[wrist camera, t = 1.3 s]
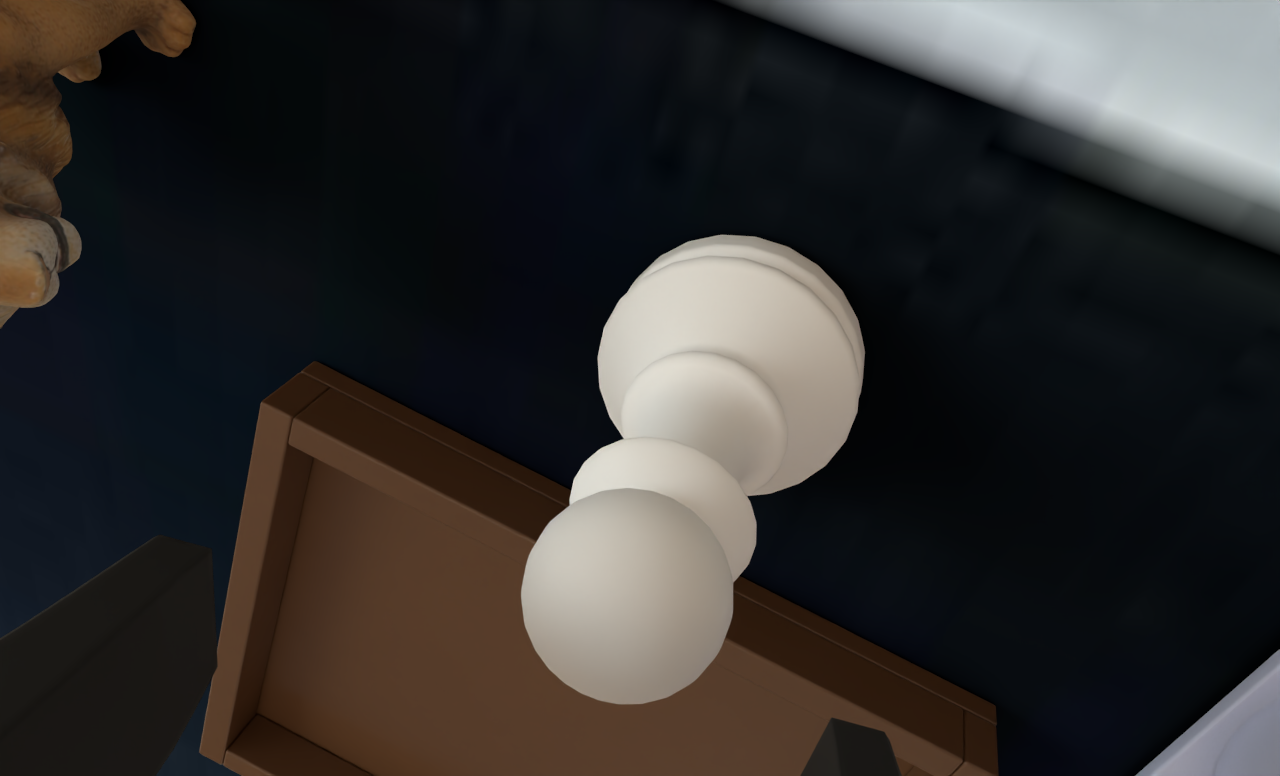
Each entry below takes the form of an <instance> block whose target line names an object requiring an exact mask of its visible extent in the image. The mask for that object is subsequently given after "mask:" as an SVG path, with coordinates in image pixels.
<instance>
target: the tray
mask: <svg viewBox="0 0 1280 776" xmlns="http://www.w3.org/2000/svg"><path fill="white" fill-rule="evenodd" d="M570 494H571V490H569V489H567V488H565V487H563V486H561V485H559V484H557V483H555V482H553V481H551V480H549V479H547V478H546V477H544V476H542V475H540V474H538V473H536V472H534V471H532V470H530V469H528V468H526V467H524V466H522V465H520V464H518V463H516V462H514V461H512V460H510V459H508V458H506V457H504V456H502V455H500V454H498V453H496V452H494V451H492V450H490V449H488V448H486V447H484V446H482V445H480V444H478V443H476V442H474V441H473V440H471V439H469V438H467V437H465V436H463V435H461V434H459V433H457V432H455V431H453V430H451V429H449V428H447V427H445V426H443V425H441V424H439V423H437V422H435V421H433V420H431V419H429V418H427V417H425V416H423V415H421V414H419V413H417V412H415V411H413V410H411V409H409V408H407V407H405V406H403V405H401V404H400V403H398V402H396V401H394V400H392V399H390V398H388V397H386V396H384V395H382V394H380V393H378V392H376V391H374V390H372V389H370V388H368V387H366V386H364V385H362V384H360V383H358V382H356V381H354V380H352V379H350V378H348V377H346V376H344V375H342V374H340V373H338V372H336V371H334V370H332V369H330V368H328V367H327V366H325V365H323V364H321V363H319V362H317V361H314V362H313V363H311V364H310V365H309V366H307V367H306V368H305V369H303V370H302V371H301V373H298V374H297V375H296V376H295V377H293V378H292V379H291V380H289V381H288V382H287V383H285V384H284V385H283V386H281V387H280V388H279V389H277V390H276V391H275V392H273V393H272V394H271V395H269V396H268V397H267V398H266V399H264V400H263V401H262V402H261V405H260V411H259V416H258V422H257V428H256V433H255V439H254V445H253V450H252V456H251V462H250V467H249V473H248V479H247V484H246V490H245V496H244V501H243V507H242V513H241V518H240V524H239V530H238V535H237V541H236V547H235V552H234V558H233V564H232V569H231V575H230V581H229V586H228V592H227V598H226V603H225V609H224V615H223V620H222V626H221V632H220V637H219V643H218V649H217V662H218V667H217V669H216V671H215V673H214V675H213V677H212V683H211V689H210V694H209V700H208V706H207V711H206V717H205V723H204V728H203V734H202V740H201V745H200V751H199V752H200V753H201V754H202V755H204V756H206V757H208V758H210V759H212V760H213V761H215V762H217V763H219V764H223V765H224V766H225V767H227V768H229V769H231V770H233V771H234V772H236V773H238V774H240V775H242V776H801V774H802V772H803V770H804V768H805V766H806V764H807V762H808V760H809V759H810V757H811V755H812V753H813V751H814V749H815V747H816V745H817V744H818V742H819V740H820V738H821V736H822V734H823V732H824V730H825V729H826V727H827V725H828V723H829V721H830V719H831V717H832V718H836V719H840V720H843V721H847V722H851V723H854V724H858V725H862V726H865V727H869V728H873V729H877V730H880V731H884V732H885V734H886V735H887V737H888V739H889V740H890V743H891V746H892V749H893V752H894V755H895V758H896V760H897V763H898V766H899V769H900V772H901V775H902V776H999V775H998V753H997V732H996V727H995V726H996V724H997V720H996V706H995V705H993V704H991V703H989V702H988V701H986V700H984V699H982V698H980V697H978V696H976V695H974V694H972V693H970V692H968V691H966V690H964V689H962V688H960V687H958V686H956V685H954V684H952V683H950V682H948V681H946V680H944V679H942V678H940V677H938V676H936V675H934V674H932V673H930V672H928V671H926V670H924V669H922V668H920V667H918V666H916V665H914V664H913V663H911V662H909V661H907V660H905V659H903V658H901V657H899V656H897V655H895V654H893V653H891V652H889V651H887V650H885V649H883V648H881V647H879V646H877V645H875V644H873V643H871V642H869V641H867V640H865V639H863V638H861V637H859V636H857V635H855V634H853V633H851V632H849V631H847V630H845V629H843V628H841V627H840V626H838V625H836V624H834V623H832V622H830V621H828V620H826V619H824V618H822V617H820V616H818V615H816V614H814V613H812V612H810V611H808V610H806V609H804V608H802V607H800V606H798V605H796V604H794V603H792V602H790V601H788V600H786V599H784V598H782V597H780V596H778V595H776V594H774V593H772V592H770V591H768V590H767V589H765V588H763V587H761V586H759V585H757V584H755V583H753V582H751V581H749V580H747V579H745V578H743V577H741V576H739V577H738V578H737V579H736V580H735V581H734V582H733V614H732V619H731V623H730V626H729V628H728V631H727V634H726V637H725V639H724V642H723V645H722V647H721V649H720V651H719V653H718V654H717V656H716V657H715V659H714V660H713V661H712V662H711V663H710V664H709V666H708V667H707V668H706V669H705V670H704V671H703V673H702V674H701V675H700V676H699V677H698V678H697V679H696V680H695V681H694V682H693V683H691V684H690V685H688V686H686V687H685V688H683V689H681V690H680V691H678V692H676V693H674V694H673V695H671V696H669V697H667V698H664V699H660V700H656V701H652V702H648V703H644V704H614V703H609V702H604V701H599V700H596V699H594V698H591V697H589V696H586V695H584V694H581V693H580V692H578V691H576V690H575V689H573V688H571V687H570V686H568V685H567V684H565V683H564V682H562V681H561V680H560V679H559V678H558V677H557V676H556V675H555V674H554V673H553V672H551V671H550V670H549V669H548V667H547V666H546V664H545V663H544V662H543V660H542V659H541V658H540V656H539V655H538V654H537V652H536V651H535V649H534V646H533V644H532V642H531V639H530V637H529V635H528V632H527V630H526V628H525V624H524V617H523V609H522V601H521V588H522V583H523V578H524V573H525V568H526V563H527V560H528V557H529V554H530V552H531V550H532V548H533V547H534V545H535V543H536V542H537V540H538V539H539V537H540V535H541V534H542V532H543V530H544V529H545V527H546V526H547V525H548V524H549V522H550V521H551V520H552V519H554V518H555V517H556V516H557V515H558V514H560V513H561V512H562V511H563V510H565V509H566V508H567V507H568V506H570V501H569V499H570Z"/></svg>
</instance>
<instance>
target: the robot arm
mask: <svg viewBox="0 0 1280 776" xmlns="http://www.w3.org/2000/svg"><path fill="white" fill-rule="evenodd" d="M217 667H218V662H217V643H216V623H215V604H214V585H213V565H212V549H210V548H207V547H203V546H199V545H196V544H192V543H188V542H185V541H181V540H177V539H173V538H170V537H166V536H162V535H158V536H156V537H155V538H153V539H151V540H149V541H148V542H146V543H145V544H143V545H142V546H140V547H139V548H137V549H136V550H134V551H133V552H131V553H130V554H128V555H127V556H125V557H124V558H122V559H121V560H119V561H118V562H116V563H115V564H113V565H112V566H110V567H109V568H107V569H106V570H104V571H103V572H101V573H100V574H98V575H97V576H95V577H94V578H92V579H91V580H89V581H88V582H86V583H85V584H83V585H82V586H80V587H79V588H77V589H76V590H74V591H73V592H71V593H70V594H68V595H67V596H65V597H64V598H62V599H61V600H59V601H58V602H56V603H55V604H53V605H52V606H50V607H48V608H47V609H45V610H44V611H42V612H41V613H39V614H38V615H36V616H35V617H33V618H32V619H30V620H29V621H27V622H26V623H24V624H22V625H21V626H19V627H18V628H16V629H14V630H13V631H11V632H10V633H8V634H7V635H5V636H3V637H2V638H0V776H156V774H157V773H158V771H159V770H160V768H161V767H162V765H163V764H164V762H165V761H166V760H167V758H168V757H169V755H170V754H171V752H172V751H173V749H174V747H175V745H176V743H177V742H178V740H179V738H180V736H181V734H182V733H183V731H184V729H185V727H186V725H187V724H188V722H189V720H190V718H191V716H192V715H193V713H194V711H195V709H196V707H197V705H198V703H199V701H200V699H201V698H202V696H203V694H204V692H205V690H206V688H207V686H208V684H209V682H210V680H211V678H212V677H213V675H214V673H215V671H216V669H217ZM801 776H902V775H901V772H900V769H899V766H898V763H897V760H896V758H895V755H894V752H893V749H892V746H891V743H890V740H889V739H888V737H887V735H886V734H885V732H884V731H880V730H877V729H873V728H869V727H865V726H862V725H858V724H854V723H851V722H847V721H843V720H840V719H836V718H832V717H831V719H830V721H829V723H828V725H827V727H826V729H825V730H824V732H823V734H822V736H821V738H820V740H819V742H818V744H817V745H816V747H815V749H814V751H813V753H812V755H811V757H810V759H809V760H808V762H807V764H806V766H805V768H804V770H803V772H802V774H801ZM1135 776H1280V649H1279V650H1278V651H1277V652H1276V653H1274V654H1273V655H1272V656H1271V657H1270V658H1269V659H1268V660H1266V661H1265V662H1264V663H1263V664H1262V665H1261V666H1260V667H1258V668H1257V669H1256V670H1255V671H1254V672H1253V673H1252V674H1250V675H1249V676H1248V677H1247V678H1246V679H1245V680H1244V681H1243V682H1241V683H1240V684H1239V685H1238V686H1237V687H1236V688H1235V689H1233V690H1232V691H1231V692H1230V693H1229V694H1228V695H1227V696H1225V697H1224V698H1223V699H1222V700H1221V701H1220V702H1219V703H1217V704H1216V705H1215V706H1214V707H1213V708H1212V709H1211V710H1209V711H1208V712H1207V713H1206V714H1205V715H1204V716H1203V717H1201V718H1200V719H1199V720H1198V721H1197V722H1196V723H1195V724H1193V725H1192V726H1191V727H1190V728H1189V729H1188V730H1187V731H1186V732H1184V733H1183V734H1182V735H1181V736H1180V737H1179V738H1178V739H1176V740H1175V741H1174V742H1173V743H1172V744H1171V745H1170V746H1168V747H1167V748H1166V749H1165V750H1164V751H1163V752H1162V753H1160V754H1159V755H1158V756H1157V757H1156V758H1155V759H1154V760H1152V761H1151V762H1150V763H1149V764H1148V765H1147V766H1146V767H1144V768H1143V769H1142V770H1141V771H1140V772H1139V773H1138V774H1136V775H1135Z"/></svg>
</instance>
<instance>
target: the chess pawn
mask: <svg viewBox="0 0 1280 776" xmlns="http://www.w3.org/2000/svg"><path fill="white" fill-rule="evenodd" d="M864 358H865V349H864V344H863V340H862V335H861V331H860V326H859V321H858V319H857V317H856V315H855V313H854V311H853V309H852V308H851V306H850V304H849V302H848V300H847V298H846V296H845V295H844V293H843V291H842V290H841V289H840V288H839V286H838V285H837V284H836V283H835V282H834V281H833V280H832V279H831V278H830V277H829V276H828V275H827V274H826V273H825V272H824V271H823V270H822V269H821V268H820V267H819V266H818V265H817V264H815V263H814V262H812V261H810V260H809V259H807V258H806V257H804V256H802V255H801V254H799V253H798V252H796V251H794V250H793V249H791V248H789V247H787V246H784V245H781V244H777V243H774V242H771V241H768V240H765V239H762V238H758V237H754V236H736V235H717V236H712V237H707V238H703V239H698V240H693V241H688V242H686V243H684V244H683V245H681V246H679V247H677V248H675V249H673V250H671V251H669V252H667V253H665V254H663V255H661V256H660V257H659V258H658V259H657V260H655V261H654V262H653V263H652V264H651V265H650V266H649V267H648V268H647V269H646V270H645V271H644V272H643V273H642V274H641V275H640V276H639V277H638V278H637V279H636V280H635V281H634V283H633V284H632V285H631V287H630V289H629V290H628V292H627V293H626V294H625V295H624V296H623V297H622V298H621V299H620V300H619V302H618V303H617V305H616V307H615V309H614V310H613V312H612V314H611V316H610V318H609V319H608V321H607V323H606V325H605V326H604V330H603V334H602V339H601V344H600V348H599V353H598V372H599V387H600V390H601V393H602V396H603V399H604V402H605V405H606V408H607V411H608V414H609V417H610V418H611V420H612V421H613V423H614V424H615V426H616V427H617V429H618V431H619V432H620V434H621V435H622V437H623V438H624V439H622V440H619V441H617V442H615V443H612V444H610V445H607V446H605V447H603V448H601V449H599V450H598V451H597V452H596V453H595V454H593V455H592V456H591V457H590V458H589V459H587V460H586V461H585V462H584V464H583V465H582V467H581V468H580V470H579V472H578V473H577V475H576V477H575V478H574V481H573V485H572V490H571V494H570V499H569V501H570V506H568V507H567V508H566V509H565V510H563V511H562V512H561V513H560V514H558V515H557V516H556V517H555V518H554V519H552V520H551V521H550V522H549V524H548V525H547V526H546V527H545V529H544V530H543V532H542V534H541V535H540V537H539V539H538V540H537V542H536V543H535V545H534V547H533V548H532V550H531V552H530V554H529V557H528V560H527V563H526V568H525V573H524V578H523V583H522V588H521V601H522V609H523V617H524V624H525V628H526V630H527V632H528V635H529V637H530V639H531V642H532V644H533V646H534V649H535V651H536V652H537V654H538V655H539V656H540V658H541V659H542V660H543V662H544V663H545V664H546V666H547V667H548V669H549V670H550V671H551V672H553V673H554V674H555V675H556V676H557V677H558V678H559V679H560V680H561V681H562V682H564V683H565V684H567V685H568V686H570V687H571V688H573V689H575V690H576V691H578V692H580V693H581V694H584V695H586V696H589V697H591V698H594V699H596V700H599V701H604V702H609V703H614V704H644V703H648V702H652V701H656V700H660V699H664V698H667V697H669V696H671V695H673V694H674V693H676V692H678V691H680V690H681V689H683V688H685V687H686V686H688V685H690V684H691V683H693V682H694V681H695V680H696V679H697V678H698V677H699V676H700V675H701V674H702V673H703V671H704V670H705V669H706V668H707V667H708V666H709V664H710V663H711V662H712V661H713V660H714V659H715V657H716V656H717V654H718V653H719V651H720V649H721V647H722V645H723V642H724V639H725V637H726V634H727V631H728V628H729V626H730V623H731V619H732V614H733V582H734V581H735V580H736V579H737V578H738V577H739V576H740V574H741V573H742V572H743V571H744V570H745V568H746V567H747V566H748V565H749V562H750V560H751V557H752V554H753V551H754V549H755V546H756V520H755V517H754V513H753V510H752V506H751V503H750V500H749V499H748V497H747V496H751V495H762V494H771V493H773V492H776V491H779V490H782V489H785V488H788V487H791V486H793V485H796V484H799V483H801V482H802V481H804V480H805V479H807V478H808V477H810V476H811V475H813V474H814V473H816V472H817V471H819V470H820V469H821V468H823V467H824V466H826V465H827V463H828V462H829V461H830V460H831V458H832V457H833V456H834V455H835V454H836V452H837V451H838V450H839V449H840V447H841V446H842V445H843V444H844V443H845V441H846V439H847V437H848V434H849V432H850V429H851V427H852V424H853V422H854V419H855V417H856V414H857V412H858V399H859V396H860V393H861V388H862V383H863V371H864Z"/></svg>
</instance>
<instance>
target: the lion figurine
mask: <svg viewBox="0 0 1280 776" xmlns="http://www.w3.org/2000/svg"><path fill="white" fill-rule="evenodd" d="M195 27H196V20H195V19H194V17H193V15H192V14H191V12H190V11H189V10H188V9H187V7H186V6H185V5H184V4H183V3H182V2H181V1H180V0H0V329H1V327H2V326H3V324H4V323H5V322H6V321H7V320H8V319H9V318H10V317H11V315H12V314H13V313H14V312H15V311H16V310H17V309H18V308H19V307H38V306H42V305H44V304H46V303H47V302H48V301H50V300H51V299H52V298H53V297H54V296H55V295H56V294H57V292H58V288H59V277H58V275H57V273H59V272H61V271H63V270H65V269H66V268H67V267H68V266H70V265H71V264H73V263H74V262H75V261H76V260H77V259H79V257H80V253H81V249H82V248H81V239H80V236H79V234H78V232H77V230H76V229H75V227H74V226H73V225H72V224H71V223H69V222H68V221H66V220H64V219H62V218H60V214H61V201H60V199H59V198H58V196H57V192H56V189H55V186H54V182H53V178H54V177H55V176H56V175H57V174H58V173H59V172H60V170H61V169H62V168H63V167H64V166H65V165H67V164H68V163H69V161H70V160H71V157H72V139H71V135H70V126H69V123H68V121H67V119H66V117H65V115H64V113H63V111H62V110H61V108H60V107H59V103H60V102H61V98H62V95H61V94H60V92H59V91H58V89H57V88H56V86H55V85H54V83H53V81H52V77H53V76H54V75H55V74H56V73H57V72H59V73H60V74H61V75H63V76H66V77H67V78H68V79H70V80H71V81H73V82H77V83H80V82H83V81H85V80H93V79H95V78H97V77H98V76H99V74H100V73H101V67H102V66H101V59H100V55H99V51H98V50H100V49H102V48H104V47H105V46H107V45H108V44H109V43H111V42H112V41H113V40H115V39H116V38H117V37H119V36H120V35H122V34H123V33H125V32H128V31H130V30H135V32H136V33H137V35H138V36H139V38H140V39H141V41H142V42H143V43H144V45H145V46H146V47H148V48H149V49H151V50H153V51H156V52H161V53H162V54H164V55H166V56H168V57H176V56H179V55H180V54H181V53H182V51H183V50H184V49H185V48H187V47H189V45H190V44H191V40H192V35H193V32H194V29H195Z"/></svg>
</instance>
